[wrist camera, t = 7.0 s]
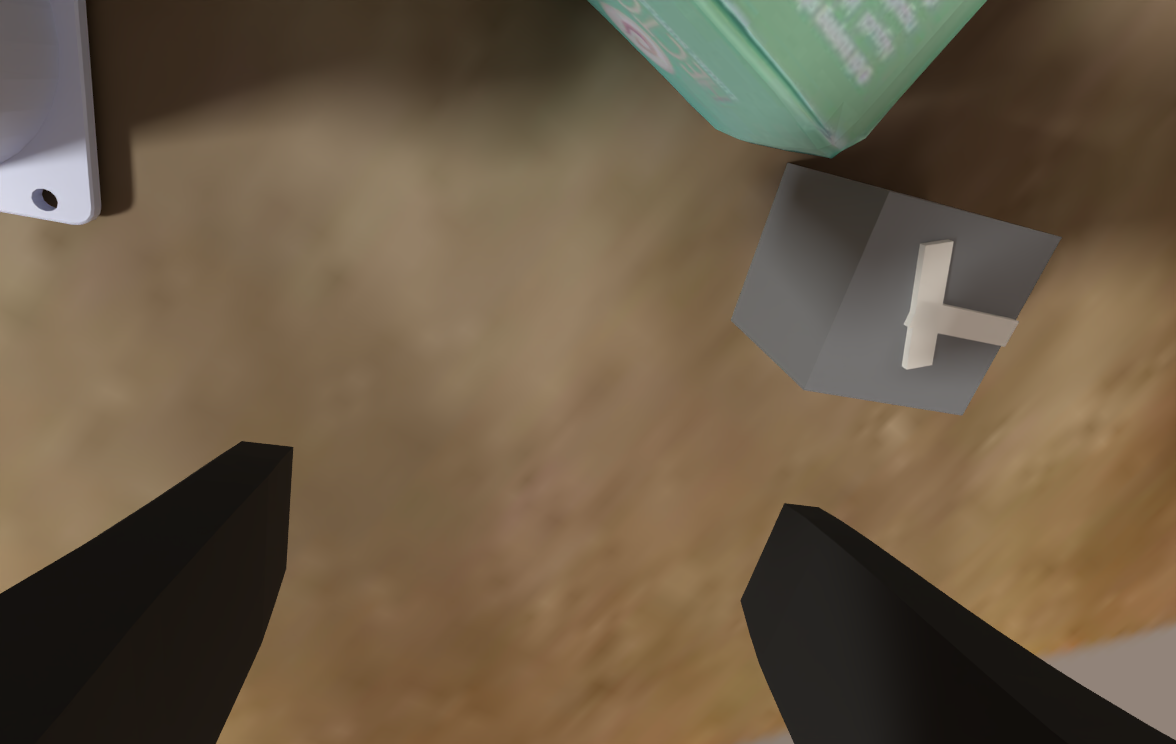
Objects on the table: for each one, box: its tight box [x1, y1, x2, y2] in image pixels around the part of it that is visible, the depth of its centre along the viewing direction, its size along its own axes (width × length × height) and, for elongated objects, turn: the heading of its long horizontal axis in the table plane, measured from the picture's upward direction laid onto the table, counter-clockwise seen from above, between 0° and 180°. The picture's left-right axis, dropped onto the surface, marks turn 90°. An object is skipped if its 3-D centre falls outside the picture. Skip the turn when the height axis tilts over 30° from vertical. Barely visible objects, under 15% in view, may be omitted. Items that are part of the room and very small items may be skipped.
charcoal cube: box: [731, 163, 1062, 415], centre depth 17 cm, size 5×5×5 cm
